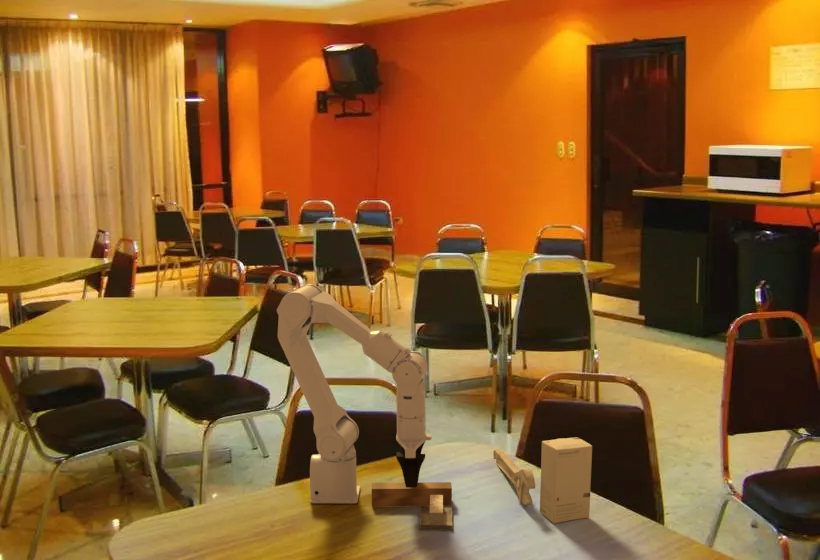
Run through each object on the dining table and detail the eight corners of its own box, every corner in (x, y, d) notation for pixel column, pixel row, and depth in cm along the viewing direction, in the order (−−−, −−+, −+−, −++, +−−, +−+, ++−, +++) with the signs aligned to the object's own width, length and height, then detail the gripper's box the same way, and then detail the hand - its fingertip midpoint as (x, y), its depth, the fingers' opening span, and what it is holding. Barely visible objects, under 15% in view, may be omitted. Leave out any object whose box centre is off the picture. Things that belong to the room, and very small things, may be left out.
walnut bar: (371, 507, 180) (371, 489, 179) (372, 501, 183) (372, 482, 182) (451, 507, 180) (451, 488, 179) (451, 500, 183) (451, 482, 182)
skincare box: (553, 524, 171) (554, 450, 168) (538, 511, 177) (539, 440, 174) (591, 517, 174) (593, 444, 171) (575, 505, 180) (577, 434, 177)
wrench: (501, 471, 204) (536, 514, 174) (493, 472, 204) (527, 515, 174) (500, 437, 204) (535, 473, 174) (492, 437, 203) (526, 474, 174)
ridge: (420, 530, 169) (420, 512, 169) (421, 511, 177) (421, 494, 177) (452, 530, 169) (452, 512, 169) (451, 511, 177) (451, 495, 176)
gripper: (430, 426, 171) (431, 493, 173) (431, 402, 185) (432, 464, 187) (393, 426, 171) (394, 493, 173) (397, 402, 185) (398, 464, 188)
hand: (411, 478), depth 180 cm, fingers open, 7 cm apart
